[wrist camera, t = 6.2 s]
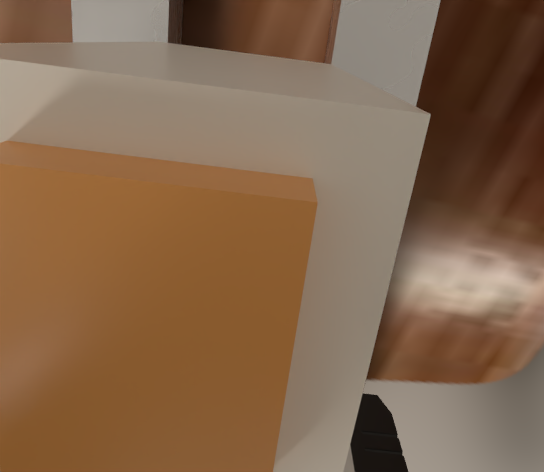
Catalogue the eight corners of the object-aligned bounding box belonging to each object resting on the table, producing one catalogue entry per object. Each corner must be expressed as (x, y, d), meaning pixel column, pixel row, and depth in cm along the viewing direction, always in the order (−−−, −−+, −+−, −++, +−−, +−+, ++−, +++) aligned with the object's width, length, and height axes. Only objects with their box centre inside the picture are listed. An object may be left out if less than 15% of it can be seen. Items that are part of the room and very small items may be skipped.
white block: (158, 440, 18) (13, 908, 8) (174, 41, 12) (-191, 44, 3) (264, 451, 18) (242, 926, 8) (324, 61, 13) (457, 127, 3)
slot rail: (105, 385, 25) (87, 420, 23) (94, -155, 16) (64, -187, 14) (331, 409, 25) (336, 446, 23) (443, -105, 16) (470, -128, 14)
